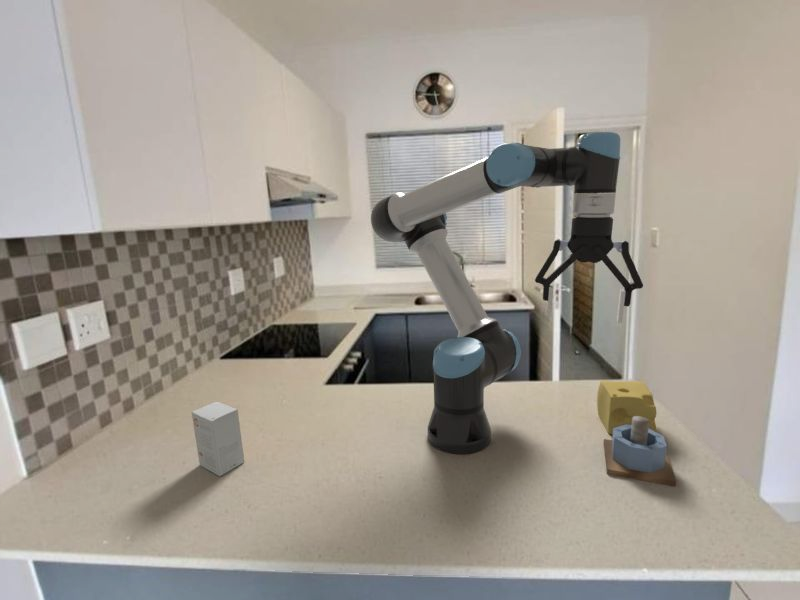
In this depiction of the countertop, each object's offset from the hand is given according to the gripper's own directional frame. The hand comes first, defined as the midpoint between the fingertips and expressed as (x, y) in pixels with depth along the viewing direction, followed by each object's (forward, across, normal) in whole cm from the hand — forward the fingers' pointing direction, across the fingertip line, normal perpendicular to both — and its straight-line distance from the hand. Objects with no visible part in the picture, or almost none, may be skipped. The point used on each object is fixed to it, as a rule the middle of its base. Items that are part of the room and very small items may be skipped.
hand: (583, 318), depth 89 cm
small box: (+32, -72, -32) cm, 85 cm away
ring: (+29, +13, -2) cm, 32 cm away
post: (+30, +13, -2) cm, 33 cm away
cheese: (+30, +12, +14) cm, 35 cm away
